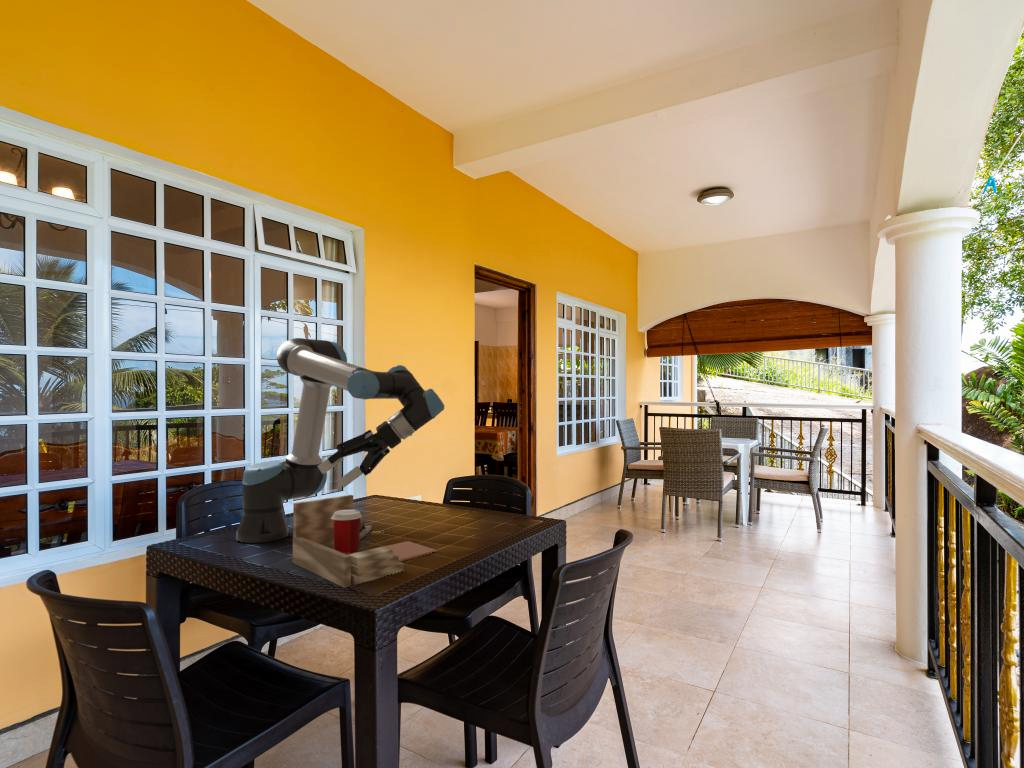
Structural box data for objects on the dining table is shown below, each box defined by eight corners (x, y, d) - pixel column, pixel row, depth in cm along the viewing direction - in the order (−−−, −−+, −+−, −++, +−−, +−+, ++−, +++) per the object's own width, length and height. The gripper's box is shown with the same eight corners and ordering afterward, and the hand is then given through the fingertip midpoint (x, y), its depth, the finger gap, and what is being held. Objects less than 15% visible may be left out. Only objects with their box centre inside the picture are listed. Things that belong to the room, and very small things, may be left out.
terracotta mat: (407, 543, 165) (407, 541, 165) (436, 552, 156) (436, 550, 156) (367, 552, 155) (367, 550, 155) (395, 562, 146) (395, 560, 146)
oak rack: (350, 549, 158) (350, 494, 158) (405, 570, 139) (405, 508, 139) (292, 562, 146) (293, 503, 146) (344, 587, 127) (344, 519, 127)
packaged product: (356, 529, 165) (323, 529, 165) (356, 545, 165) (323, 545, 165) (372, 516, 183) (342, 516, 183) (372, 530, 183) (342, 530, 183)
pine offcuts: (392, 567, 142) (392, 544, 142) (404, 571, 138) (404, 548, 138) (343, 580, 132) (343, 555, 132) (355, 585, 128) (355, 560, 128)
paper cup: (356, 558, 149) (356, 507, 150) (365, 566, 143) (365, 512, 143) (327, 563, 145) (327, 511, 145) (335, 571, 139) (335, 516, 139)
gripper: (387, 423, 140) (317, 474, 136) (414, 453, 162) (355, 498, 158) (372, 403, 143) (303, 453, 139) (401, 435, 165) (342, 479, 161)
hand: (331, 477), depth 149 cm, fingers open, 13 cm apart
